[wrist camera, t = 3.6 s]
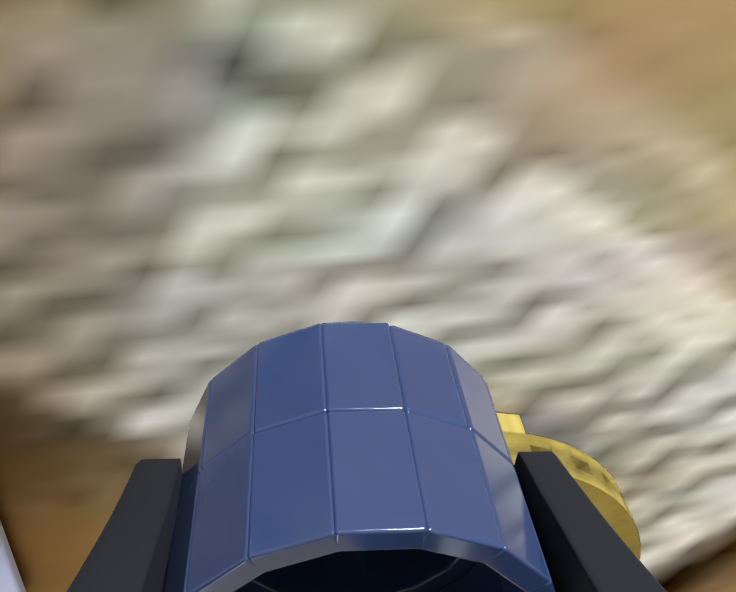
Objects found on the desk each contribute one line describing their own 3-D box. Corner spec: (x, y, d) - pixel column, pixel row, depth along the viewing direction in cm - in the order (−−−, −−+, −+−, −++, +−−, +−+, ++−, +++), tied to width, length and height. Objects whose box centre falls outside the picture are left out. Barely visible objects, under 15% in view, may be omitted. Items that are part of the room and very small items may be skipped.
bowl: (203, 516, 15) (176, 754, 11) (182, 302, 12) (135, 540, 8) (463, 508, 16) (517, 730, 12) (513, 304, 12) (608, 523, 9)
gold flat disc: (680, 505, 26) (708, 558, 24) (447, 649, 31) (457, 702, 29) (456, 353, 20) (473, 407, 19) (215, 556, 25) (209, 614, 23)
